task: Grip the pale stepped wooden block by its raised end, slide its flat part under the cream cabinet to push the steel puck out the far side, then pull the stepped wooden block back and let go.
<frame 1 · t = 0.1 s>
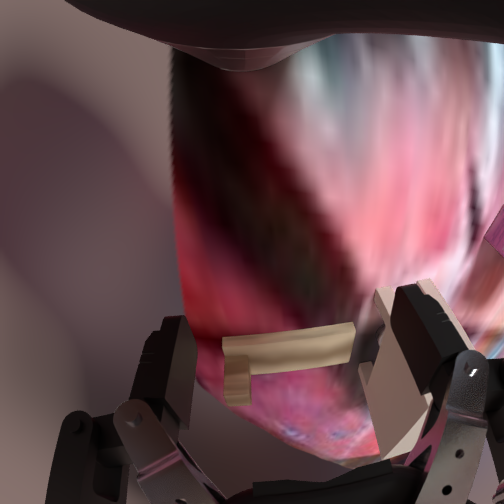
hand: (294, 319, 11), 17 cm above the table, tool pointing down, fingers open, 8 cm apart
stepped wooden block: (238, 350, 39), on the table
cabinet: (391, 330, 38), on the table
puck: (390, 329, 38), on the table
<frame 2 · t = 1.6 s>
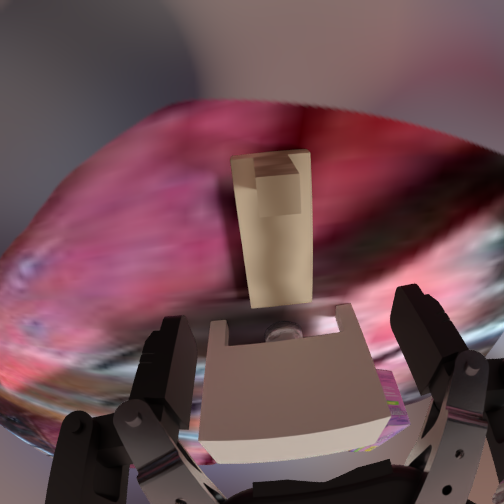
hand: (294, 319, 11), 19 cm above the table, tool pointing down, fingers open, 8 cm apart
stepped wooden block: (270, 166, 27), on the table
cabinet: (283, 334, 38), on the table
puck: (283, 333, 38), on the table
box: (363, 384, 47), on the table
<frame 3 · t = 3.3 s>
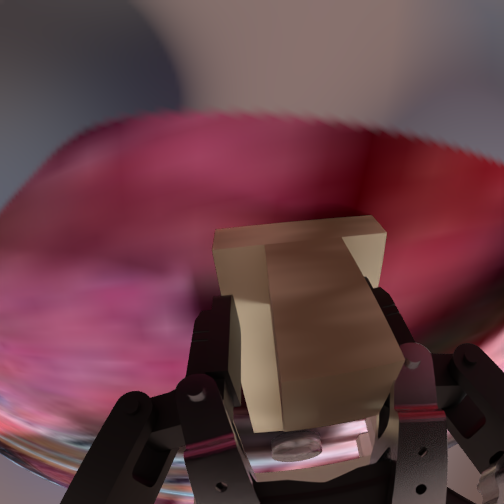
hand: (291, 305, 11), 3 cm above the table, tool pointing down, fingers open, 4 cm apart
stepped wooden block: (296, 247, 14), on the table, touching gripper
cabinet: (295, 440, 25), on the table
puck: (295, 438, 25), on the table
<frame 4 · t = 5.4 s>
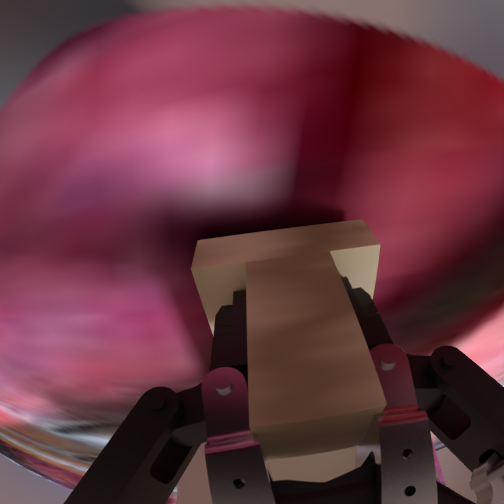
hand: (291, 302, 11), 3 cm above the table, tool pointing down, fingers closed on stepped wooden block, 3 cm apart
stepped wooden block: (284, 258, 13), point 1 cm above the table, touching gripper
cabinet: (297, 423, 23), on the table
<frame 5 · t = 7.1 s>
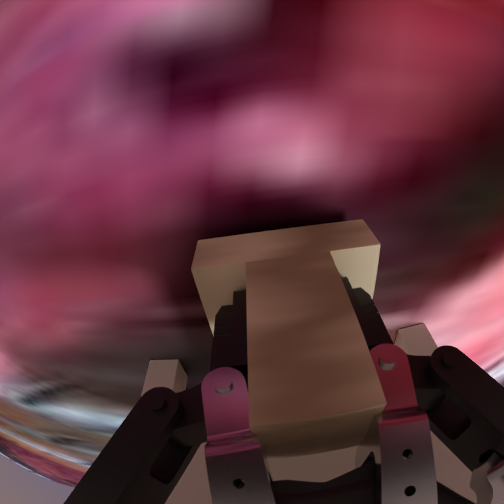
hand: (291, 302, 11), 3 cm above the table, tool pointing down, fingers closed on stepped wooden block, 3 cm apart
stepped wooden block: (284, 259, 13), point 1 cm above the table, touching gripper
cabinet: (293, 384, 19), on the table
when the fingers open (3 cm above the table, at t = 9.2 s): stepped wooden block stays where it is, on the table.
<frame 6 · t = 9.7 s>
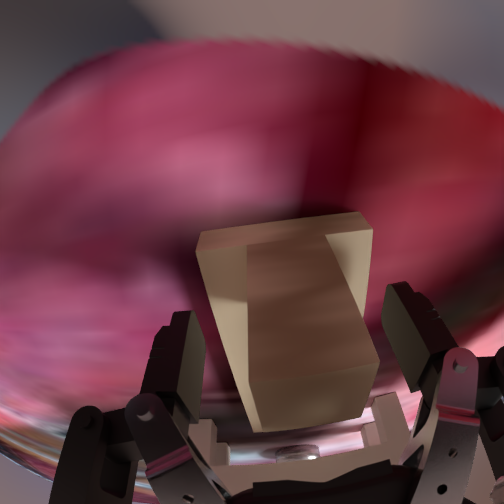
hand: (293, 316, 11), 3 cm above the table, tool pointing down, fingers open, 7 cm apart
stepped wooden block: (283, 246, 14), on the table
cabinet: (295, 430, 23), on the table
puck: (297, 450, 28), on the table
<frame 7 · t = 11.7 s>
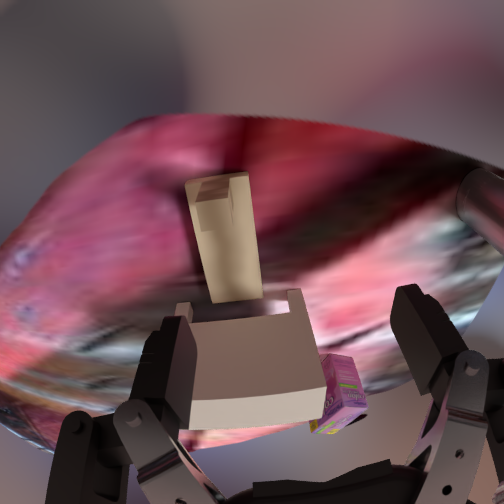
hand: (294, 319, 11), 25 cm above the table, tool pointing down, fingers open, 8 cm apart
stepped wooden block: (219, 186, 33), on the table
cabinet: (241, 316, 43), on the table
box: (326, 370, 53), on the table
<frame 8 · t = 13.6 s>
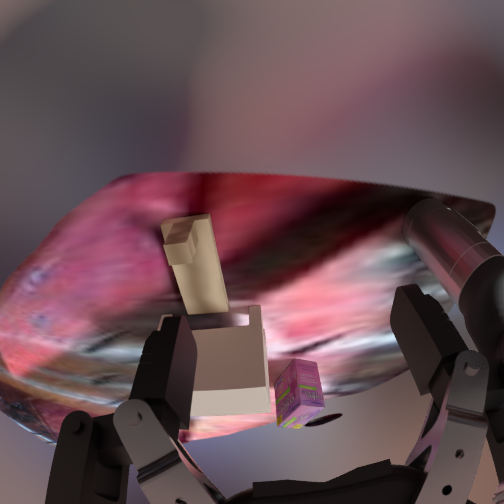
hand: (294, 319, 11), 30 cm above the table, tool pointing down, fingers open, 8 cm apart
stepped wooden block: (188, 225, 42), on the table
cabinet: (214, 326, 52), on the table
box: (294, 372, 61), on the table
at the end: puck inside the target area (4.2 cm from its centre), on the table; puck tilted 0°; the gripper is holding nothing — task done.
